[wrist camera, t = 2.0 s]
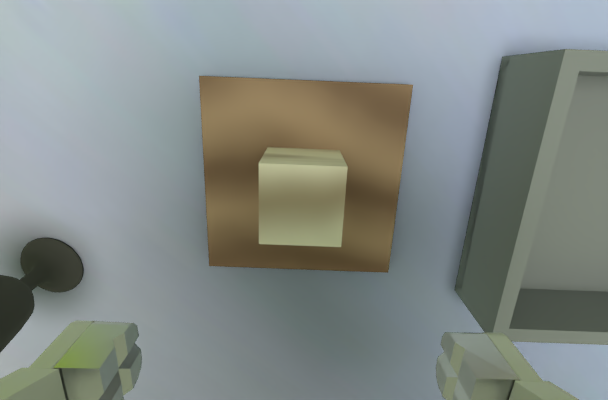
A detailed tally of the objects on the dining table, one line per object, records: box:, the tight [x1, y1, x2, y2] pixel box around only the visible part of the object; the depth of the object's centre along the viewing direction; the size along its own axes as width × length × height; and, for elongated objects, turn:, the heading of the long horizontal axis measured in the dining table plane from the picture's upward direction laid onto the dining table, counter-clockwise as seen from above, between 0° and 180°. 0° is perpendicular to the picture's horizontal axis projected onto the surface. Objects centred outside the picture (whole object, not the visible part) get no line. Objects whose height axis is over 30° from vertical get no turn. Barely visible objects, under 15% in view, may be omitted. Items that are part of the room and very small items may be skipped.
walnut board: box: [199, 76, 413, 272], centre depth 26 cm, size 14×14×1 cm
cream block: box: [259, 147, 348, 247], centre depth 23 cm, size 5×5×5 cm
